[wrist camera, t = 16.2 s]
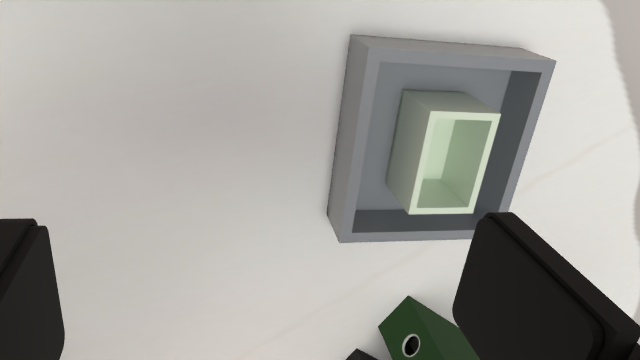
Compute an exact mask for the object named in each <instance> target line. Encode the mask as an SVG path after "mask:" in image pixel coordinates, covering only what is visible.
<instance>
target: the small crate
mask: <svg viewBox="0 0 640 360" xmlns="http://www.w3.org/2000/svg"><path fill="white" fill-rule="evenodd" d="M500 116H501V113H499V112H497V111H496V110H494V109H492V108H491V107H489V106H487V105H486V104H484V103H482V102H481V101H479V100H477V99H476V98H474V97H472V96H471V95H469V94H467V93H466V92H457V91H437V90H417V89H402V91H401V97H400V102H399V107H398V113H397V118H396V124H395V129H394V134H393V140H392V145H391V151H390V156H389V161H388V167H387V172H386V178H385V183H386V185H387V186H388V187H389V189H390V190H391V191H392V193H393V194H394V196H395V197H396V198H397V200H398V201H399V202H400V204H401V205H402V206H403V208H404V209H405V211H406V212H407V213H408V214H464V213H473V211H474V207H475V204H476V200H477V197H478V193H479V190H480V186H481V183H482V179H483V176H484V172H485V169H486V165H487V162H488V158H489V155H490V151H491V148H492V144H493V141H494V137H495V134H496V130H497V127H498V123H499V119H500Z"/></svg>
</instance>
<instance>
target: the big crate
mask: <svg viewBox="0 0 640 360" xmlns="http://www.w3.org/2000/svg"><path fill="white" fill-rule="evenodd" d="M555 64H556V61H555V60H553V59H550V58H547V57H544V56H541V55H539V54H536V53H533V52H530V51H527V50H524V49H522V48H512V47H499V46H487V45H474V44H462V43H449V42H437V41H424V40H412V39H399V38H387V37H374V36H362V35H350V43H349V50H348V58H347V65H346V73H345V80H344V88H343V95H342V103H341V110H340V118H339V125H338V133H337V140H336V148H335V155H334V163H333V170H332V178H331V185H330V193H329V200H328V207H327V216H328V218H329V221H330V223H331V225H332V227H333V230H334V232H335V234H336V237H337V239H338V241H339V243H351V242H386V241H422V240H457V239H472V238H473V235H474V232H475V228H476V225H477V222H478V221H479V220H480V219H482V218H483V217H484V216H485V214H487V213H489V212H508V210H509V207H510V204H511V201H512V197H513V194H514V191H515V188H516V185H517V182H518V179H519V176H520V173H521V170H522V167H523V163H524V160H525V157H526V154H527V151H528V148H529V145H530V142H531V139H532V136H533V132H534V129H535V126H536V123H537V120H538V117H539V114H540V111H541V108H542V105H543V102H544V98H545V95H546V92H547V89H548V86H549V83H550V80H551V77H552V74H553V71H554V67H555ZM402 89H417V90H437V91H457V92H466V93H467V94H469V95H471V96H472V97H474V98H476V99H477V100H479V101H481V102H482V103H484V104H486V105H487V106H489V107H491V108H492V109H494V110H496V111H497V112H499V113H501V116H500V119H499V123H498V127H497V130H496V134H495V137H494V141H493V144H492V148H491V151H490V155H489V158H488V162H487V165H486V169H485V172H484V176H483V179H482V183H481V186H480V190H479V193H478V197H477V200H476V204H475V207H474V211H473V213H464V214H408V213H407V212H406V211H405V209H404V208H403V206H402V205H401V204H400V202H399V201H398V200H397V198H396V197H395V196H394V194H393V193H392V191H391V190H390V189H389V187H388V186H387V185H386V183H385V178H386V172H387V167H388V161H389V156H390V151H391V145H392V140H393V134H394V129H395V124H396V118H397V113H398V107H399V102H400V97H401V91H402Z"/></svg>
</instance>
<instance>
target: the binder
mask: <svg viewBox="0 0 640 360" xmlns="http://www.w3.org/2000/svg"><path fill="white" fill-rule="evenodd" d="M378 327H379V330H380V332H381V334H382V336H383V339H384V341H385V343H386V345H387V348H388V350H389V352H390V354H391V357H392V359H393V360H480V359H479V357H478V356H477V354H476V353H475V351H474V350H473V348H472V346H471V345H470V343H469V342H468V340H467V339H466V337H465V336H464V334H463V333H462V331H461V330H460V328H459V327H457V326H455V325H454V324H452V323H451V322H449V321H448V320H446V319H444V318H443V317H441V316H440V315H438V314H437V313H435V312H433V311H432V310H430V309H429V308H427V307H426V306H424V305H422V304H421V303H419V302H418V301H416V300H415V299H413V298H411V297H410V296H407V297H406V298H405V299H404V300H403V301H402V302H401V303H400V304H399V305H398V307H397V308H396V309H395V310H394V311H393V312H392V313H391V314H390V315H389V316H388V317H387V318H386V319H385V320H384V321H383V322H382V323H381V324H380V325H379V326H378ZM412 336H416V337H415V338H414V339H413V340H412V339H410V337H412ZM346 360H378V359H376V358H374V357H372V356H370V355H368V354H367V353H365V352H363V351H361V350H359V349H356V350H355V351H354V352H353V353H352V354H351V355H350V356H349V357H348V358H347V359H346Z"/></svg>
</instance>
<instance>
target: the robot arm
mask: <svg viewBox="0 0 640 360" xmlns="http://www.w3.org/2000/svg"><path fill="white" fill-rule="evenodd" d="M452 312H453V317H454V320H455V322H456V323H457V325H458V326H459V328H460V330H461V331H462V333H463V334H464V336H465V337H466V339H467V340H468V342H469V343H470V345H471V346H472V348H473V350H474V351H475V353H476V354H477V356H478V357H479V359H480V360H640V345H639V344H638V343H637V341H638V339H639V337H640V326H639V325H638V324H637V323H636V322H635V321H634V320H632V319H631V318H630V317H629V316H628V315H627V314H626V313H625V312H623V311H622V310H621V309H620V308H619V307H618V306H617V305H616V304H615V303H613V302H612V301H611V300H610V299H609V298H608V297H607V296H606V295H605V294H603V293H602V292H601V291H600V290H599V289H598V288H597V287H596V286H594V285H593V284H592V283H591V282H590V281H589V280H588V279H587V278H586V277H584V276H583V275H582V274H581V273H580V272H579V271H578V270H577V269H576V268H574V267H573V266H572V265H571V264H570V263H569V262H568V261H567V260H565V259H564V258H563V257H562V256H561V255H560V254H559V253H558V252H557V251H555V250H554V249H553V248H552V247H551V246H550V245H549V244H548V243H547V242H545V241H544V240H543V239H542V238H541V237H540V236H539V235H538V234H536V233H535V232H534V231H533V230H532V229H531V228H530V227H529V226H528V225H526V224H525V223H524V222H523V221H522V220H521V219H520V218H519V217H518V216H516V215H515V214H514V213H512V212H489V213H487V214H485V216H484V217H483V218H482V219H480V220H479V221H478V222H477V225H476V228H475V232H474V235H473V238H472V242H471V245H470V249H469V252H468V255H467V259H466V262H465V266H464V269H463V272H462V276H461V279H460V283H459V286H458V289H457V293H456V296H455V300H454V303H453V308H452ZM64 338H65V333H64V325H63V319H62V313H61V307H60V300H59V294H58V288H57V282H56V276H55V269H54V263H53V257H52V251H51V245H50V238H49V233H48V229H47V227H46V226H38V225H37V222H36V220H34V219H0V360H59V359H60V356H61V353H62V350H63V346H64Z"/></svg>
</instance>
